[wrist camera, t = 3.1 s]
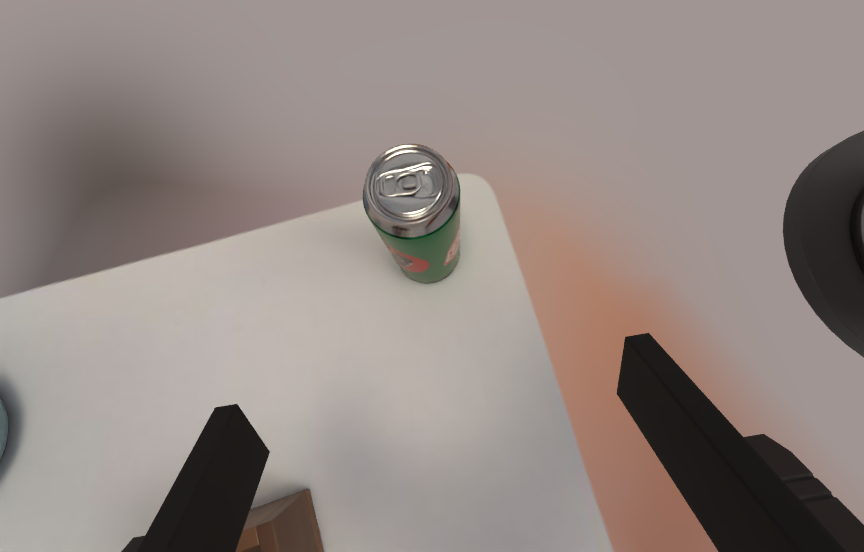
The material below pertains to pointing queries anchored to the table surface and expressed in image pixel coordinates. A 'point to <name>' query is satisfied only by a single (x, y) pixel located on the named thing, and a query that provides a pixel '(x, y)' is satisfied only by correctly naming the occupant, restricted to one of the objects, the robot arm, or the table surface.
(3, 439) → the mug
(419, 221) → the soda can
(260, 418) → the table surface
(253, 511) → the wooden divided tray
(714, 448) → the robot arm
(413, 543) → the table surface
